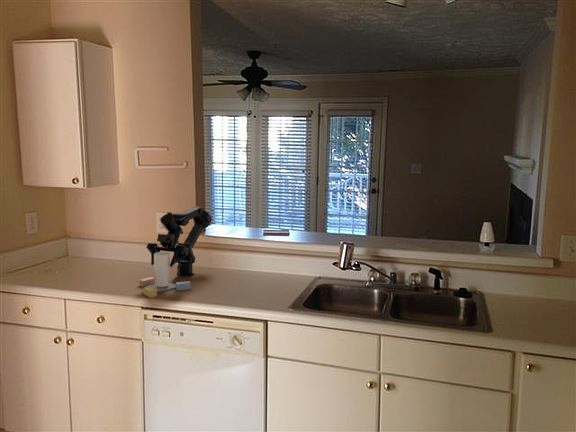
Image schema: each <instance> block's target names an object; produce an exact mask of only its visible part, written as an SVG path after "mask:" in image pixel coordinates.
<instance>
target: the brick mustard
mask: <svg viewBox="0 0 576 432" xmlns="http://www.w3.org/2000/svg"><path fill="white" fill-rule="evenodd" d="M142 288H143V295H145V296H147V297H149V298H155V297H157V296H158V293H157V289H154V288H152V287H150V286H149V287H142Z"/></svg>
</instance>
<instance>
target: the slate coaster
mask: <svg viewBox="0 0 576 432" xmlns="http://www.w3.org/2000/svg"><path fill="white" fill-rule="evenodd" d="M149 286H150V287H152V288H154V289H157V294H159V293H162V292H168V291H171V290H177V289H176V283H172V282H170V281H169V285H168V286H167V287H157V285H156V283H155V284H151V285H147V286H145V287H149ZM145 287H144V288H145Z"/></svg>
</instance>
